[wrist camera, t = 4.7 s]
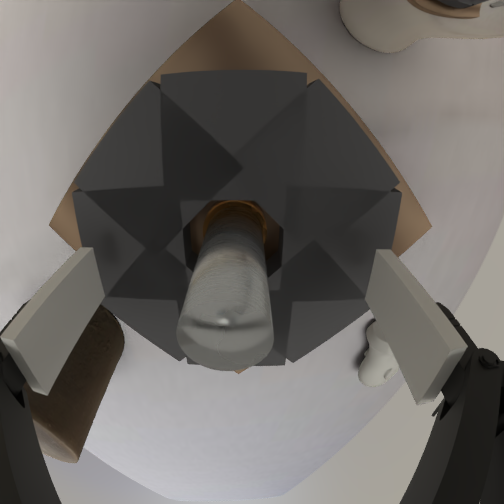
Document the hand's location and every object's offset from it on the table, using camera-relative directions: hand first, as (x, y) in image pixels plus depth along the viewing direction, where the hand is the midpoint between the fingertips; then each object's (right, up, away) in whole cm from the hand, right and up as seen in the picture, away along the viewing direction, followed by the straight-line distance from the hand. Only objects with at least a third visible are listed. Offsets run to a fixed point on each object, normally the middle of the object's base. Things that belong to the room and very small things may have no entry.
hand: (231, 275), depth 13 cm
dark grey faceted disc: (0, +2, +4) cm, 5 cm away
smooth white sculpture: (+14, -8, +15) cm, 22 cm away
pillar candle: (-17, -7, +13) cm, 22 cm away
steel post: (0, +3, +6) cm, 7 cm away
